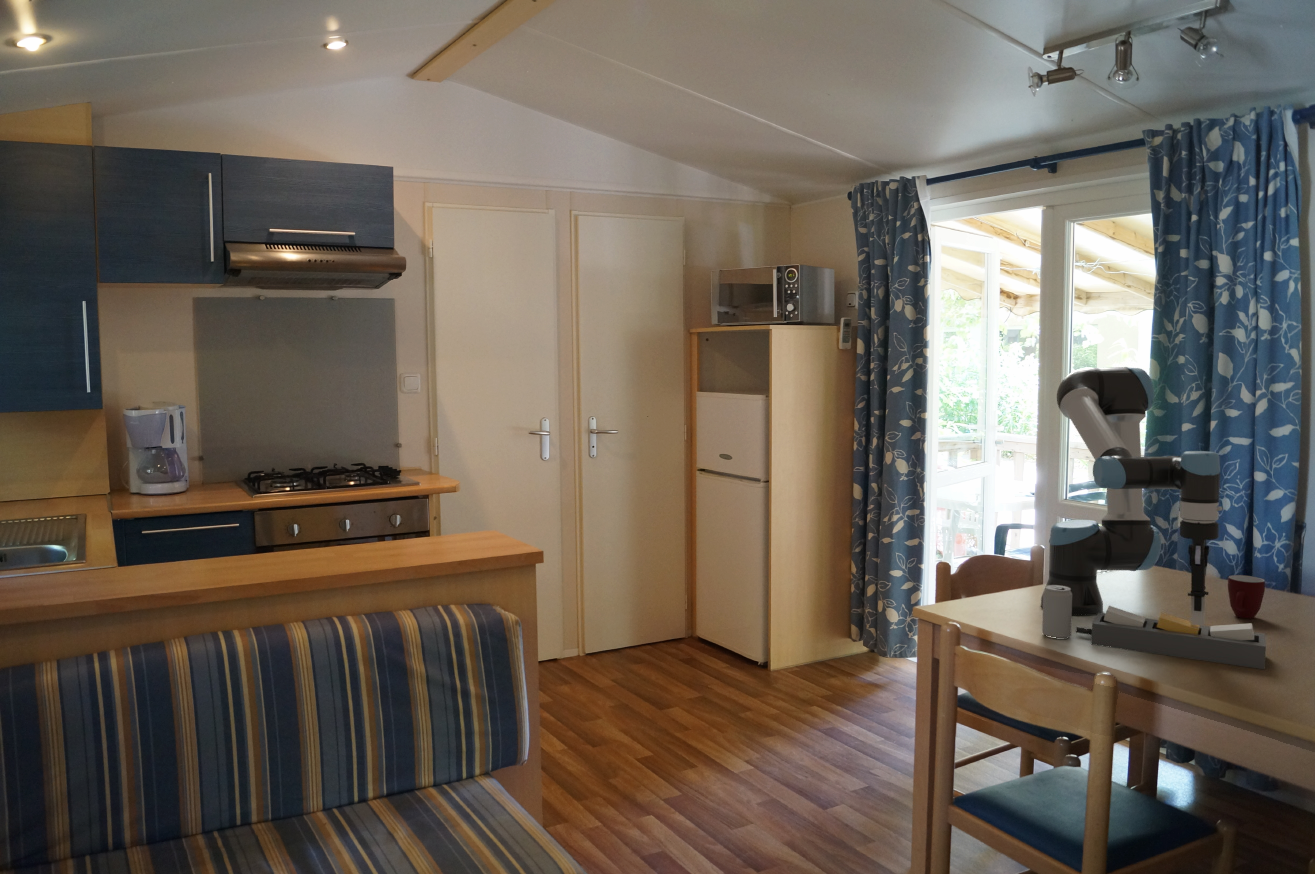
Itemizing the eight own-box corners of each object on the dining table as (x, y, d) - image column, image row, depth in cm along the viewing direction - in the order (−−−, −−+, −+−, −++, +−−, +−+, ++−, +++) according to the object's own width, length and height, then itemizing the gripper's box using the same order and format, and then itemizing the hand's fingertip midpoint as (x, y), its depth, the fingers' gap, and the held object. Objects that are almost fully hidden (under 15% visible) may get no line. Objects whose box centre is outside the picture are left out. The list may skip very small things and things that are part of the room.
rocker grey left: (1103, 619, 220) (1106, 610, 219) (1106, 614, 224) (1109, 605, 223) (1140, 632, 216) (1143, 622, 215) (1142, 627, 220) (1145, 617, 219)
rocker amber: (1156, 627, 214) (1159, 617, 213) (1158, 621, 218) (1161, 612, 217) (1195, 639, 210) (1198, 629, 209) (1196, 634, 214) (1199, 624, 213)
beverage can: (1058, 641, 221) (1060, 591, 220) (1036, 634, 226) (1037, 585, 225) (1076, 638, 224) (1078, 588, 223) (1054, 631, 229) (1055, 583, 228)
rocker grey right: (1212, 642, 208) (1209, 631, 208) (1213, 636, 212) (1210, 625, 212) (1254, 639, 204) (1251, 628, 204) (1254, 633, 208) (1251, 623, 208)
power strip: (1072, 641, 221) (1073, 620, 220) (1079, 630, 230) (1080, 610, 230) (1264, 669, 200) (1265, 646, 200) (1264, 655, 210) (1265, 633, 209)
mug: (1260, 625, 233) (1262, 585, 233) (1222, 619, 238) (1224, 581, 238) (1264, 616, 242) (1266, 578, 241) (1228, 611, 247) (1230, 573, 246)
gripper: (1218, 525, 202) (1216, 633, 204) (1219, 517, 213) (1217, 619, 215) (1178, 523, 206) (1176, 628, 208) (1181, 515, 217) (1180, 615, 219)
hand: (1197, 624), depth 211 cm, fingers closed
